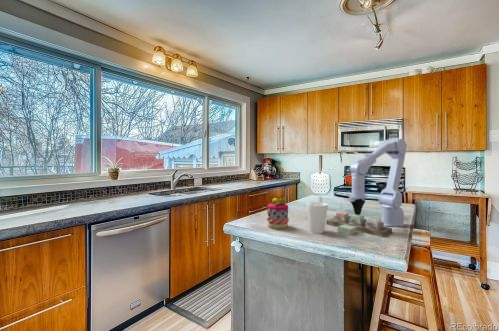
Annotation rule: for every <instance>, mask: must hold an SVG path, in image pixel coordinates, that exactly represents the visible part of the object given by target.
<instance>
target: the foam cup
mask: <svg viewBox="0 0 499 331" xmlns="http://www.w3.org/2000/svg"><path fill="white" fill-rule="evenodd" d="M328 207H329V204H328V203H327V202H326V203H325V202H319V201H309V202H306V209H307V219H308V225H309V232H310V233H312V234H313V233H314V234H324V233H325V226H326V222H327V213H328V210H329V208H328Z"/></svg>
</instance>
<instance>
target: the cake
mask: <svg viewBox="0 0 499 331" xmlns="http://www.w3.org/2000/svg"><path fill="white" fill-rule="evenodd" d="M286 199H287V198H286V197H283V198H277V197H274V198H272V201H271V203H268V205H267V216H268V217H267V218H266V220H267V221H268V222H267V227H268V228H269V229H273V230H285V229H288V228H289V227H288V225H289V223H288V222H289V221H290V219H289V216H288V214H289V205H288V204H286V203H284V202H285V200H286Z"/></svg>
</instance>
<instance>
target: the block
mask: <svg viewBox="0 0 499 331" xmlns="http://www.w3.org/2000/svg"><path fill="white" fill-rule="evenodd" d="M337 232H338V233H341V234H346V235H353V234H355V233H357V232H358V231H357V227H355V226H350V225H346V224H344V225H341V226H338V227H337Z"/></svg>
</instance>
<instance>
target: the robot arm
mask: <svg viewBox="0 0 499 331" xmlns="http://www.w3.org/2000/svg"><path fill="white" fill-rule="evenodd" d="M407 147H408V144H407V143H406V141H405V140H404V138H398V139H385V140H384V141H382V142H380V145H379V146H378V147H377V148H376V149H375V150H373V151H372V152H370V153H365V154H364V155H363V157H362V158H360V159H359V158H358V160H357V161H356V162H353V163H351V165H350V166H349V168H348V170H349V172H350V177H351V194H349V196H348V202H350V203H351V205H352V207H353V208H352V209H353V211H354V215H361V213H362V210H363V206H364V205H365V203H366V199H367V196H368V195H367V194H365V182H366V181H365V175H366V174H368V171H369V169H370V167H372V166H373V165H374V164H375V163H376V162H377V159H378V158H380V157H381V156H382V155H384V154H387V155H388V157H391V164H390V168H389V173H388V178H387V182H386V187H385V188H384V189H382V190H381V191H380V192H381V193H380V195H378V196H379V197H378V204H380V207H381V222H384V227H405V225H404V219H405V217H404V216H405V214H404V209H403V208H402V207H401V206H402V204H403V198H402V197H403V194H402V192H401V191H400V190H399V187H400V183H401V177H402V173H403V168H404V163H405V160H406V159H405V158H406V152H407Z"/></svg>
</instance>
